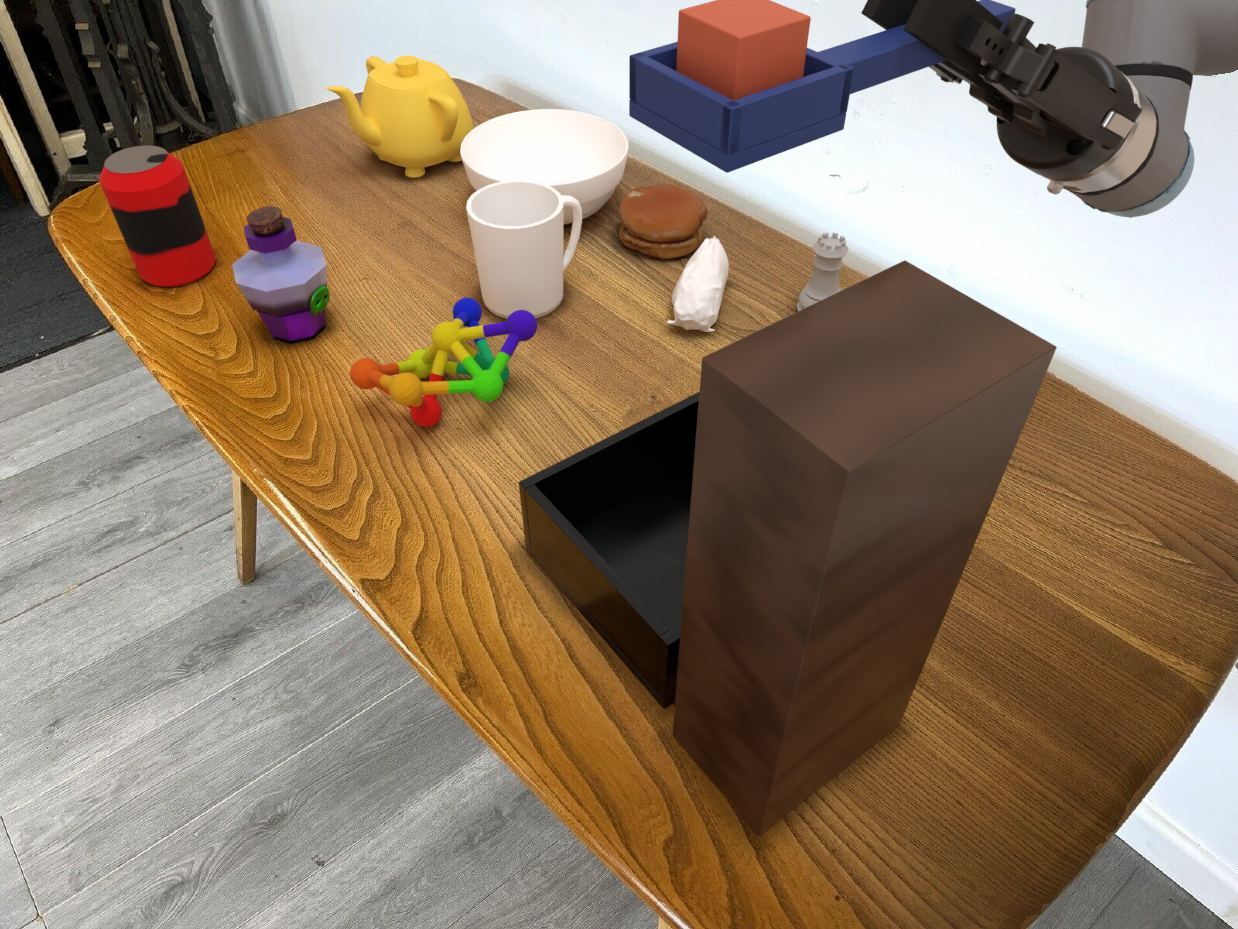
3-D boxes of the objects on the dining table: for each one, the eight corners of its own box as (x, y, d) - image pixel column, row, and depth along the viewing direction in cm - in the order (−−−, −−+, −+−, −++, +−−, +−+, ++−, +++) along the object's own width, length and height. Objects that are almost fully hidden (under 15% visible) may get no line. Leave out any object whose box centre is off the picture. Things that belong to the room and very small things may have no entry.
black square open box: (845, 587, 66) (864, 519, 61) (664, 710, 59) (668, 645, 54) (697, 457, 76) (702, 389, 70) (525, 550, 69) (518, 481, 63)
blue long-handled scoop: (1048, 53, 48) (1065, -4, 46) (726, 173, 39) (732, 108, 37) (941, 15, 52) (954, -39, 50) (628, 116, 43) (628, 54, 41)
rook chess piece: (787, 314, 90) (799, 242, 84) (808, 293, 92) (820, 221, 87) (829, 330, 88) (844, 257, 82) (849, 308, 90) (864, 236, 85)
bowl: (514, 266, 96) (508, 203, 91) (441, 193, 107) (432, 132, 102) (659, 218, 103) (661, 156, 98) (577, 153, 114) (575, 95, 109)
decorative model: (328, 353, 79) (469, 258, 82) (381, 428, 84) (512, 335, 88) (379, 405, 69) (537, 295, 72) (435, 486, 74) (579, 380, 78)
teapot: (370, 132, 118) (351, 36, 110) (482, 132, 118) (471, 36, 110) (346, 184, 108) (323, 83, 100) (468, 185, 108) (455, 83, 100)
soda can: (207, 286, 93) (166, 176, 85) (131, 290, 93) (82, 179, 84) (224, 246, 99) (186, 139, 90) (151, 250, 98) (107, 142, 90)
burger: (697, 266, 96) (700, 225, 92) (610, 256, 97) (609, 216, 94) (710, 218, 103) (713, 179, 99) (628, 210, 104) (629, 171, 101)
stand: (899, 726, 58) (1057, 346, 37) (758, 837, 53) (849, 471, 32) (809, 640, 63) (904, 259, 42) (672, 735, 58) (701, 357, 37)
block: (799, 109, 41) (811, 16, 39) (732, 133, 40) (739, 37, 37) (740, 80, 44) (748, -10, 41) (674, 101, 42) (677, 9, 39)
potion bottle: (332, 354, 85) (301, 239, 77) (239, 353, 85) (198, 239, 77) (352, 300, 91) (325, 189, 83) (265, 300, 92) (229, 188, 83)
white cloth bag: (672, 291, 95) (662, 328, 86) (690, 228, 91) (681, 260, 83) (719, 304, 95) (713, 342, 86) (738, 241, 91) (734, 274, 83)
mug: (495, 333, 88) (483, 237, 80) (466, 284, 93) (453, 191, 86) (601, 305, 91) (599, 211, 84) (567, 260, 97) (563, 168, 89)
